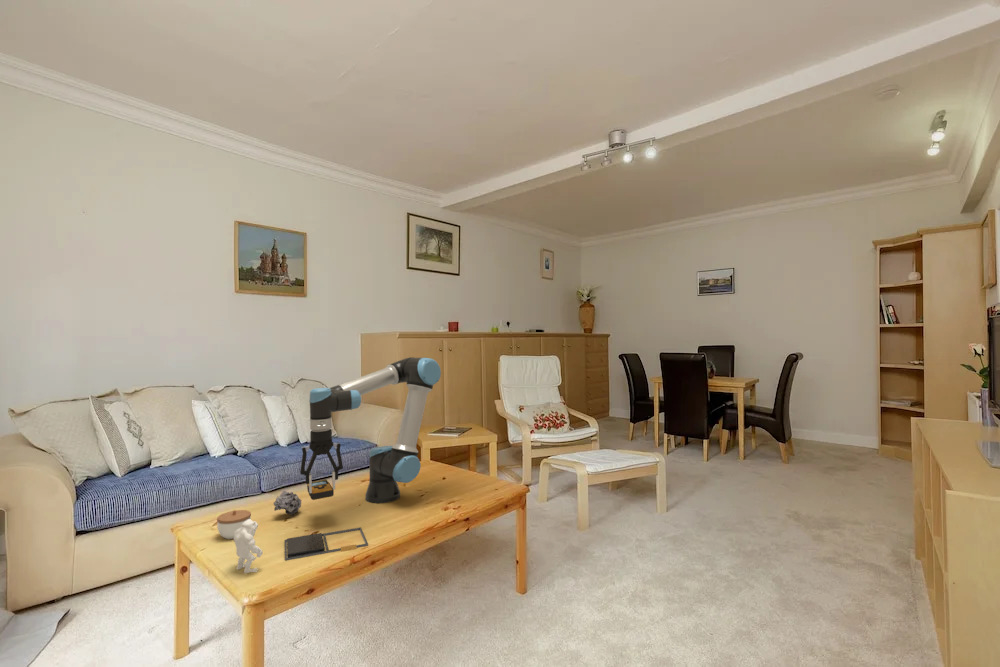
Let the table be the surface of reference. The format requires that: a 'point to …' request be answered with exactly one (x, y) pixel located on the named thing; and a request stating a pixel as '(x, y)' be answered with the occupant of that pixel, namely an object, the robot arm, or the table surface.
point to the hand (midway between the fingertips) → (322, 490)
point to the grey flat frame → (315, 545)
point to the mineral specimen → (288, 502)
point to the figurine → (246, 545)
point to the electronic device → (320, 489)
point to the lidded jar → (231, 522)
